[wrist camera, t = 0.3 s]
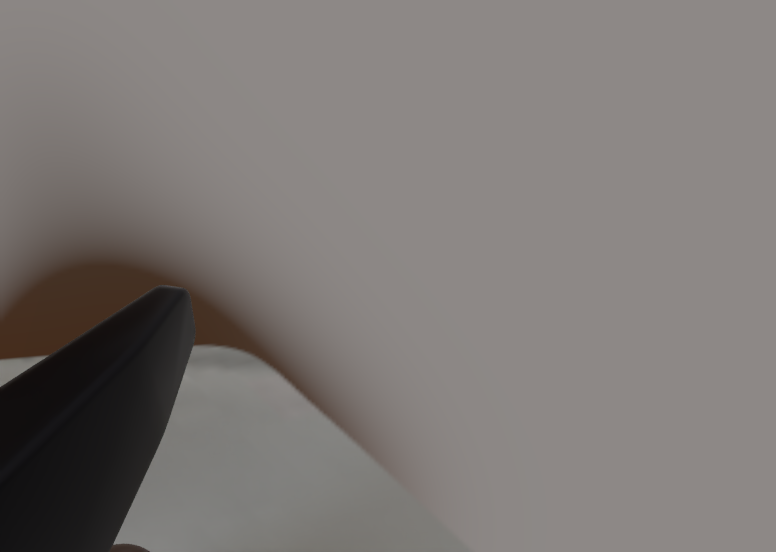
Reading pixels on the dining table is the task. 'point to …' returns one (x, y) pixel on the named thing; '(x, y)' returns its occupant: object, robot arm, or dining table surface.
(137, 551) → the walnut pawn
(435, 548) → the dining table surface
